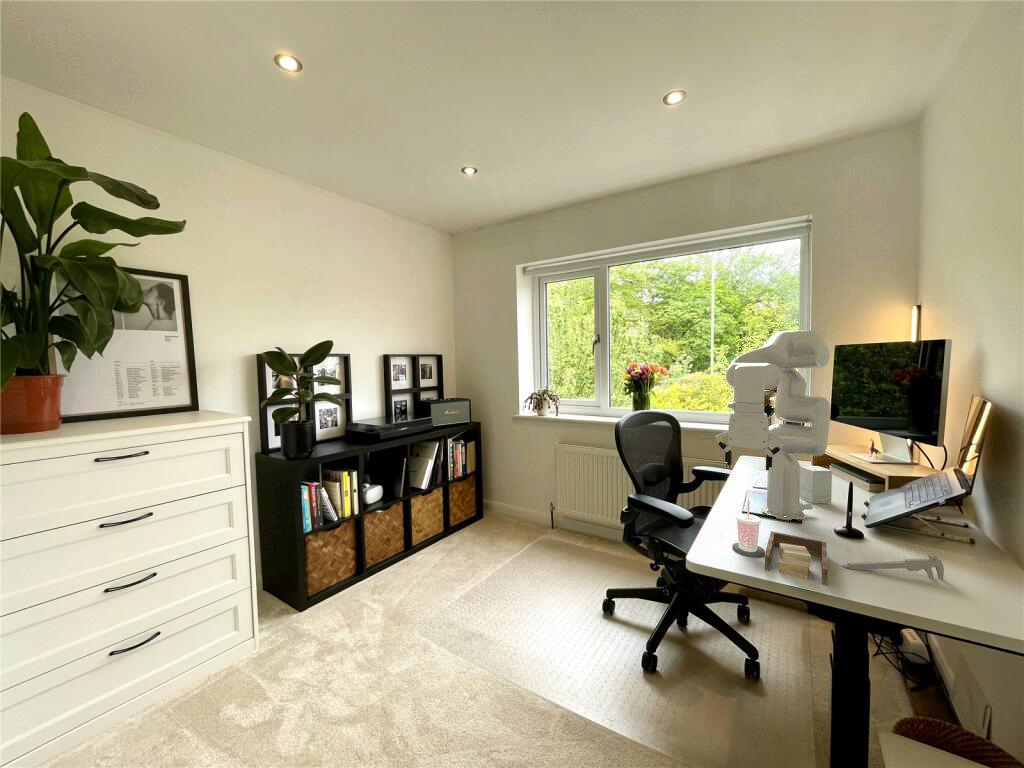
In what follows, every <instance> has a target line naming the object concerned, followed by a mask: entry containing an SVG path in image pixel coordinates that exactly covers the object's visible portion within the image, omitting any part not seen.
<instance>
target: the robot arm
mask: <svg viewBox="0 0 1024 768" xmlns="http://www.w3.org/2000/svg"><path fill="white" fill-rule="evenodd" d="M830 356H831V355H830V349H829V347H828V345H827V343H826V341H825V340H824V338H823V337H822V336H821V334H819V333H818V332H817V331H816V330H812V329H803V330H800V329H799V330H798V329H797V330H783V331H778V332H776V333H773V334H772V335H771V336H770V337H769V339H768V340H767V341H766V342H765V343H764V344H763V346H762V347H759V348H756V349H753V350H750V351H748V352H744V353H742V354H740V355H738V356H737V357H736V358H734V359H733V360H732V361H731V362H730V364H729V366H728V367H727V370H726V375H725V378H726V382H727V384H728V385H729V386H730V387H733V402H729V403H728V408H729V409H732V410H733V411H730V415H729V420H728V429H727V431H724V432H721V433H719V434H716V435H715V436H714V439H715V440H716V442H717V444H718V446H719V447H720V448H721V449H722V451H724V463H727V464H726V465H727V467H730V466H731V465H732V457H733V456H732V454H733V453H732V449H733V448H738V449H747V450H748V449H749V450H756V451H757V450H760V451H764V453H766V454H765V455H766V456H765V471H767V481H766V482H767V486H766V487H767V488H766V505H764V506H762V507H761V511H762V510H763V511H764V512H766V513H768V514H771V515H772V516H774V517H776V518H775V519H777V520H783V521H789V520H790V521H791V520H792V519H800V520H799V521H802V520H804V519H805V516H806V515H805V513H804V512H803V511H805V510H813V504H812V503H803V501H801V502H800V499H801V498H800V466H801V465H800V462H799V460H798V459H797V458H796V457H795V455H794V454H797V455H805V456H810V457H821V456H823V455H825V453H826V451H827V447H828V441H829V435H830V434H829V431H830V424H831V423H830V422H831V412H832V411H831V404H830V402H829V400H828V399H827V398H826V397H823V396H819V395H806V392H807V390H806V389H807V380H806V379H805V378H804V377H803V375H802V374H801V373H800V372H799V371H798V370H796V369H821V368H824V367H826V366H827V364H828V363H829V360H830ZM776 387H777V388H776ZM775 388H776V394H775V403H774V408H773V409H774V410H773V411H774V412H773V413H774V416H775V418H776V419H777V420H778V421H783V422H790V423H799V424H810V425H811V426H805V425H804V426H803V425H796V424H795V425H794V424H787V423H785V424H784V423H777V424H776V423H775V424H771V425H770V424H769V417H768V414H767V413H766V412H765V393H766V392H765V390H771V389H775ZM726 437H727V444H726V443H725V442H724V441H723V438H724V439H725V438H726ZM765 506H767V507H765ZM784 516H786V517H784ZM791 522H792V521H791Z"/></svg>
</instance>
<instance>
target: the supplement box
mask: <svg viewBox="0 0 1024 768" xmlns="http://www.w3.org/2000/svg"><path fill="white" fill-rule="evenodd" d="M832 483H833V471H832V470H831V469H828V468H825V467H821V466H819V465H809V466H807V465H804V466H801V465H800V497H801V498H802V500H803V499H804V501H806V502H808V503H810V502H811V503H810V504H812V503H831V504H832V491H833V489H832V488H833V487H832V486H833V484H832ZM801 498H800V499H801Z"/></svg>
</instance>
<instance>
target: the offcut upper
mask: <svg viewBox="0 0 1024 768" xmlns="http://www.w3.org/2000/svg"><path fill="white" fill-rule="evenodd" d="M778 553H779V554H778V555H779V557H780V558H782V560H783V562H784V564H790V565H796V566H803V567H809V569H810V568H811V566H812V564H811V563H812V561H811V560H812V559H811V558H812V556H811V554H809V552H808V551H807V549H806V548H805V546H798V545H790V544H783V543H780V548H779V552H778Z"/></svg>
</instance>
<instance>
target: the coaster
mask: <svg viewBox="0 0 1024 768" xmlns="http://www.w3.org/2000/svg"><path fill="white" fill-rule="evenodd" d="M732 550H733V551H734V552H736V553H737V554H739V555H742V556H745V557H750V558H762V557H765V552H766V549H765V548H763V547H761V546H759V545H758V546H757V551H755V552H748V551H744V550H742V549H740V548H739V544H738V542H735V543H733V544H732Z"/></svg>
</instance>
